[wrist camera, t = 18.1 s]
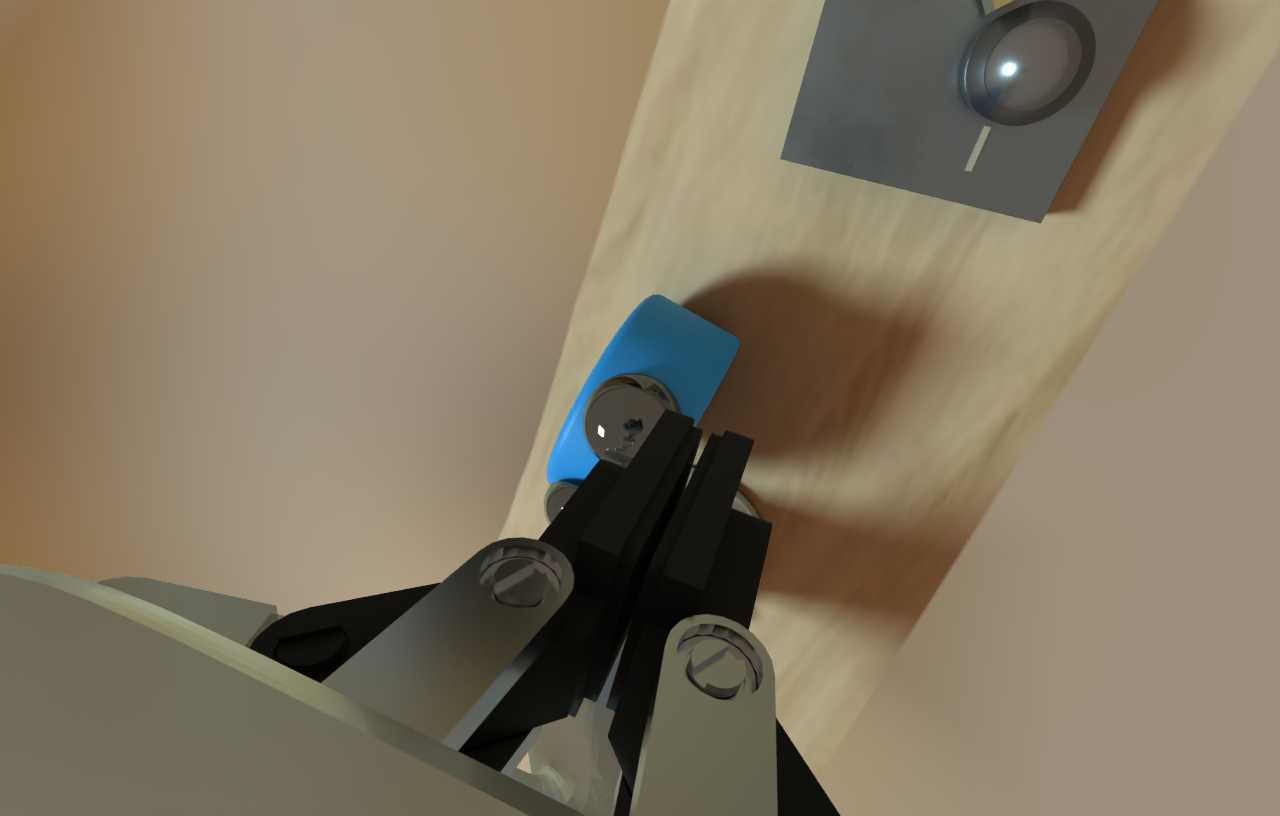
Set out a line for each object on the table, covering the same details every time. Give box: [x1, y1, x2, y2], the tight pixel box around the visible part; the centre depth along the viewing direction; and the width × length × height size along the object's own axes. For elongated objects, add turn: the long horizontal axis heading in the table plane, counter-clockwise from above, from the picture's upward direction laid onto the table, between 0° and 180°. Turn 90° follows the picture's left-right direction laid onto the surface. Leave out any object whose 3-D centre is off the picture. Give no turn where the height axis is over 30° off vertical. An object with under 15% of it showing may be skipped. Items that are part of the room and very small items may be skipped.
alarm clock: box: [544, 295, 740, 525], centre depth 36 cm, size 13×6×15 cm, turn 157°
